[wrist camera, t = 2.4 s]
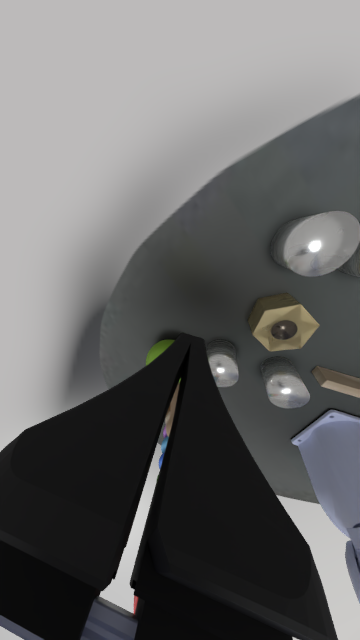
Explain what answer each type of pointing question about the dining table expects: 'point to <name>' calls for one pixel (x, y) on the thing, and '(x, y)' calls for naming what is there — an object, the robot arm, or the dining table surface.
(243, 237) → the dining table surface
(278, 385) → the cylinder
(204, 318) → the dining table surface
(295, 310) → the brass nut
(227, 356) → the cylinder
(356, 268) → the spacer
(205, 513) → the robot arm
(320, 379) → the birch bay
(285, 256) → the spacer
